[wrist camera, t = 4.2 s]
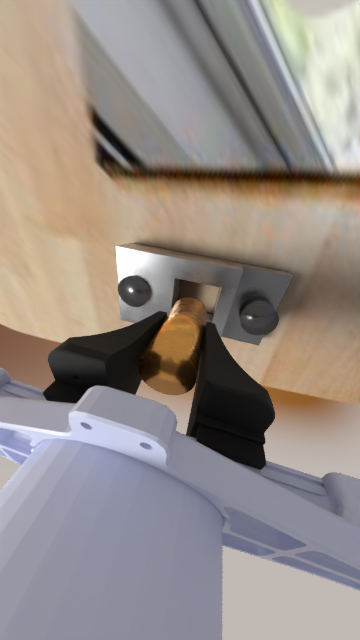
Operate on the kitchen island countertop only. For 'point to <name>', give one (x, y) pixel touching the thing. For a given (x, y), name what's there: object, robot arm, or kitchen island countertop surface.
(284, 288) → the gray slab
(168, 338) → the pin
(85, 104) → the kitchen island countertop surface
